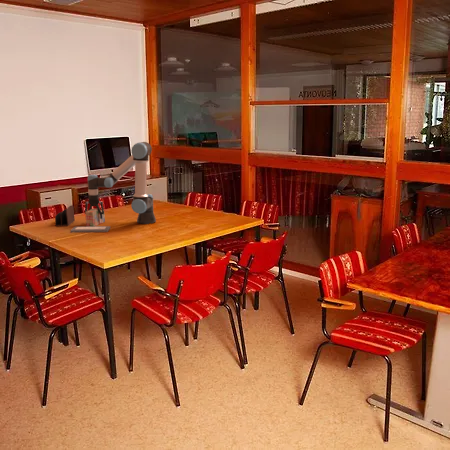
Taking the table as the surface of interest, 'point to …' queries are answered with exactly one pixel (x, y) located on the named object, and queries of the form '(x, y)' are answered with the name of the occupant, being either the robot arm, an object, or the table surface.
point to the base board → (91, 229)
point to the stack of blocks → (93, 217)
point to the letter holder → (65, 217)
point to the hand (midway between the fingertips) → (95, 222)
